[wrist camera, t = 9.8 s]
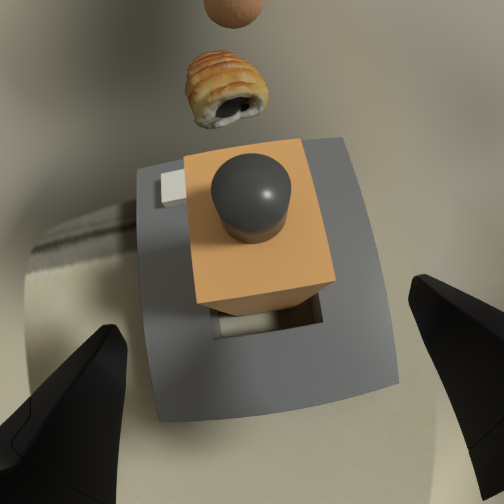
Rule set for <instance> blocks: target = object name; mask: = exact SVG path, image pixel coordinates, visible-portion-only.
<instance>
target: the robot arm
mask: <svg viewBox="0 0 504 504" xmlns="http://www.w3.org/2000/svg"><path fill="white" fill-rule="evenodd" d="M408 302H409V306H410V308H411V311H412V313H413V316H414V318H415V321H416V323H417V326H418V329H419V331H420V334H421V337H422V339H423V342H424V344H425V346H426V348H427V351H428V353H429V355H430V357H431V359H432V361H433V363H434V365H435V368H436V370H437V372H438V374H439V376H440V379H441V381H442V383H443V385H444V388H445V390H446V392H447V395H448V397H449V399H450V402H451V404H452V407H453V410H454V412H455V415H456V417H457V420H458V423H459V425H460V428H461V431H462V434H463V436H464V439H465V442H466V445H467V448H468V450H469V455H470V458H471V461H472V464H473V468H474V471H475V475H476V478H477V482H478V485H479V489H480V493H481V497H482V500H483V501H484V500H487V499H489V498H490V497H493V496H495V495H497V494H498V493H500V492H502V491H504V312H502V311H500V310H499V309H497V308H495V307H493V306H491V305H489V304H487V303H485V302H483V301H481V300H479V299H477V298H475V297H473V296H471V295H469V294H467V293H464V292H463V291H460V290H459V289H456V288H454V287H452V286H450V285H448V284H446V283H444V282H442V281H439V280H438V279H435V278H433V277H431V276H429V275H426V274H421V275H417V276H415V277H413V279H412V283H411V287H410V292H409V296H408ZM127 352H128V348H127V343H126V341H125V339H124V338H123V336H122V334H121V332H120V331H119V329H118V327H117V326H116V325H115V324H106V325H102V326H101V327H100V328H99V329H98V330H97V331H96V332H95V333H94V334H93V335H92V336H91V337H89V338H88V339H87V340H86V341H85V342H84V343H83V344H82V345H81V346H80V347H79V348H78V349H77V350H76V351H75V352H74V353H73V354H72V355H71V356H70V357H69V358H68V359H67V360H66V361H65V362H64V363H63V364H62V365H61V366H60V367H59V368H57V369H56V370H55V371H54V372H53V373H52V374H51V375H50V376H49V377H48V378H47V379H46V381H45V382H44V383H43V384H42V385H41V386H40V387H39V388H38V389H37V390H36V391H35V392H34V393H33V394H32V395H31V396H30V397H29V398H28V399H27V400H26V401H25V402H24V403H23V404H22V405H21V406H20V407H19V408H18V409H17V410H16V411H15V412H14V413H13V414H12V415H11V416H10V417H9V418H8V419H7V420H6V421H5V422H4V423H3V424H2V425H1V426H0V504H116V485H117V466H118V453H119V441H120V431H121V422H122V414H123V406H124V399H125V389H126V368H127Z"/></svg>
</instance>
